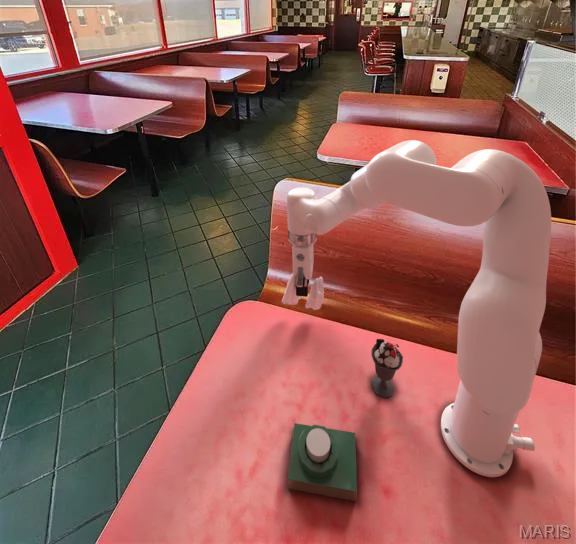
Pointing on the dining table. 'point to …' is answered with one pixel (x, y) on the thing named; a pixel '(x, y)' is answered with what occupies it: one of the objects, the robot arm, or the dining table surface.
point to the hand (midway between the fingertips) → (302, 288)
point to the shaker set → (315, 293)
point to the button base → (324, 465)
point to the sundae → (385, 366)
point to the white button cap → (318, 445)
